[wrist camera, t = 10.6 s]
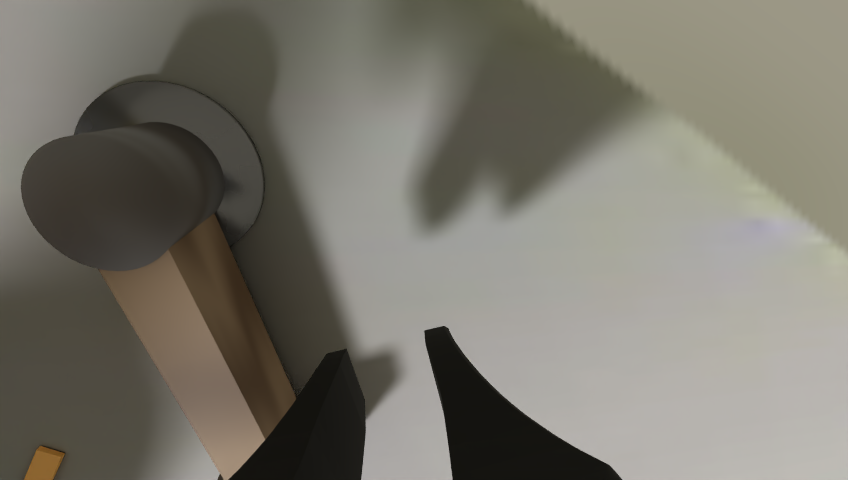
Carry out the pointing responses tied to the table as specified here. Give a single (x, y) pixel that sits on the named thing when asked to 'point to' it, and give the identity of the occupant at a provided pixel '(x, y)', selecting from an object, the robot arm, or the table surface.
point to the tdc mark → (44, 464)
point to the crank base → (204, 122)
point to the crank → (166, 271)
